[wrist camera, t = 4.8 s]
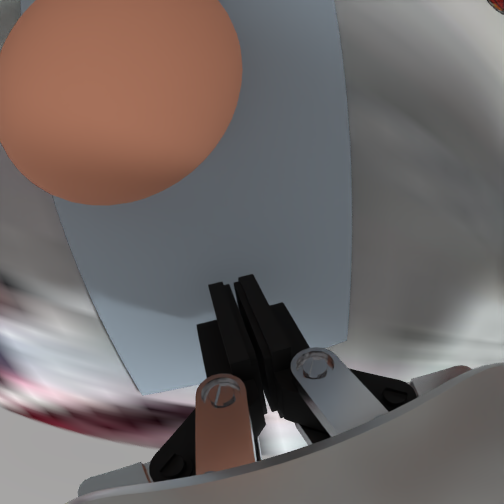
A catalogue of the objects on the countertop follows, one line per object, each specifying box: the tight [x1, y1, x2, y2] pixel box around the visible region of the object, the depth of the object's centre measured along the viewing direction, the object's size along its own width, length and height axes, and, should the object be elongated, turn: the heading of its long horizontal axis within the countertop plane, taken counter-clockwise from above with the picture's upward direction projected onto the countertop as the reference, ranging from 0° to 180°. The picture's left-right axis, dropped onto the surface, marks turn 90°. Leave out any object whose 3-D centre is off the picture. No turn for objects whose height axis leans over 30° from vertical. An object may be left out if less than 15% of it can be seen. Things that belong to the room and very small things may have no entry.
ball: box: [0, 0, 243, 206], centre depth 6 cm, size 6×6×6 cm
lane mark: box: [21, 0, 352, 396], centre depth 9 cm, size 11×25×1 cm, turn 8°
